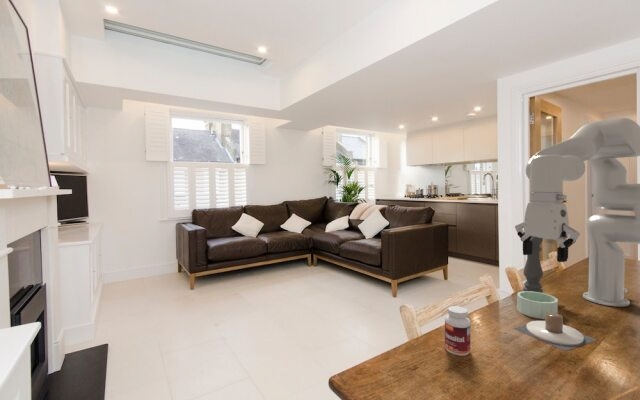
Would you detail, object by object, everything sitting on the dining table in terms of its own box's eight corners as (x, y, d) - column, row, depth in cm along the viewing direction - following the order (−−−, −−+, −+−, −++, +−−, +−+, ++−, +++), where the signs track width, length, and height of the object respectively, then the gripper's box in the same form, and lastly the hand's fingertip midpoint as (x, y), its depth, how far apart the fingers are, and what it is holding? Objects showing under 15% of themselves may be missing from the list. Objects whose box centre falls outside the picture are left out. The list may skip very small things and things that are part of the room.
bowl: (531, 304, 112) (531, 289, 112) (565, 316, 102) (565, 299, 101) (509, 309, 108) (510, 294, 107) (543, 322, 98) (543, 305, 97)
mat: (544, 321, 99) (544, 319, 99) (597, 341, 86) (597, 339, 86) (513, 329, 93) (513, 328, 93) (565, 352, 80) (565, 350, 80)
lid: (545, 320, 98) (545, 303, 98) (594, 339, 86) (594, 320, 86) (516, 328, 93) (516, 310, 93) (564, 349, 81) (564, 329, 81)
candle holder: (546, 300, 115) (547, 233, 114) (527, 300, 116) (528, 233, 115) (538, 295, 121) (538, 230, 120) (520, 294, 122) (520, 230, 121)
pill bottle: (441, 351, 82) (441, 310, 82) (449, 342, 87) (449, 303, 86) (466, 359, 78) (466, 316, 78) (473, 349, 83) (473, 308, 82)
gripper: (588, 199, 83) (586, 263, 84) (525, 197, 99) (524, 251, 100) (570, 199, 80) (568, 265, 81) (508, 197, 96) (507, 253, 97)
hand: (543, 257), depth 90 cm, fingers open, 9 cm apart
